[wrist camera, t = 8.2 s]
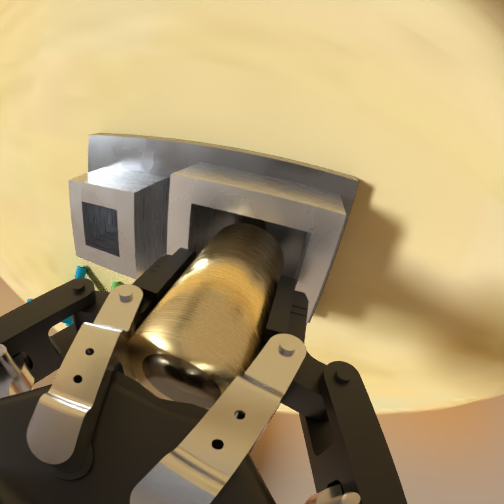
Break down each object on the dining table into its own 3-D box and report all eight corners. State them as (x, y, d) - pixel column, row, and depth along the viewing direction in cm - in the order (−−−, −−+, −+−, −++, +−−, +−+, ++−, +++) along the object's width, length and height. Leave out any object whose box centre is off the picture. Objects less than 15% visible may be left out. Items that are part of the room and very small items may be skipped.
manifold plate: (99, 133, 17) (53, 142, 13) (355, 177, 14) (370, 198, 10) (102, 249, 21) (67, 275, 17) (310, 312, 19) (305, 360, 15)
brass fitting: (213, 215, 14) (113, 315, 7) (292, 235, 13) (257, 368, 6) (206, 280, 15) (133, 391, 8) (274, 299, 15) (235, 430, 8)
